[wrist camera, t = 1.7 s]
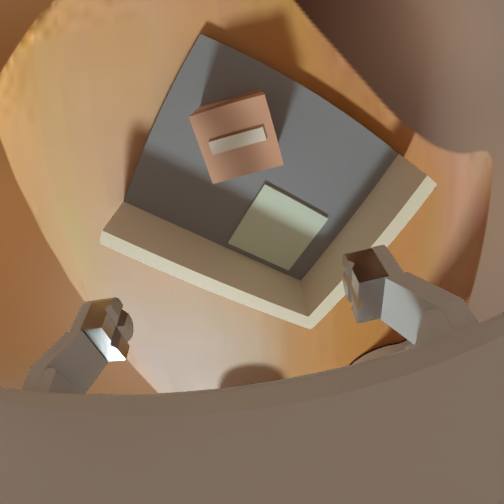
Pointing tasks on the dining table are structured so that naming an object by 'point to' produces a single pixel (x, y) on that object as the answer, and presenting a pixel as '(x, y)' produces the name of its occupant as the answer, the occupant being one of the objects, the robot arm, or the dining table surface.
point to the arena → (263, 194)
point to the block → (236, 136)
